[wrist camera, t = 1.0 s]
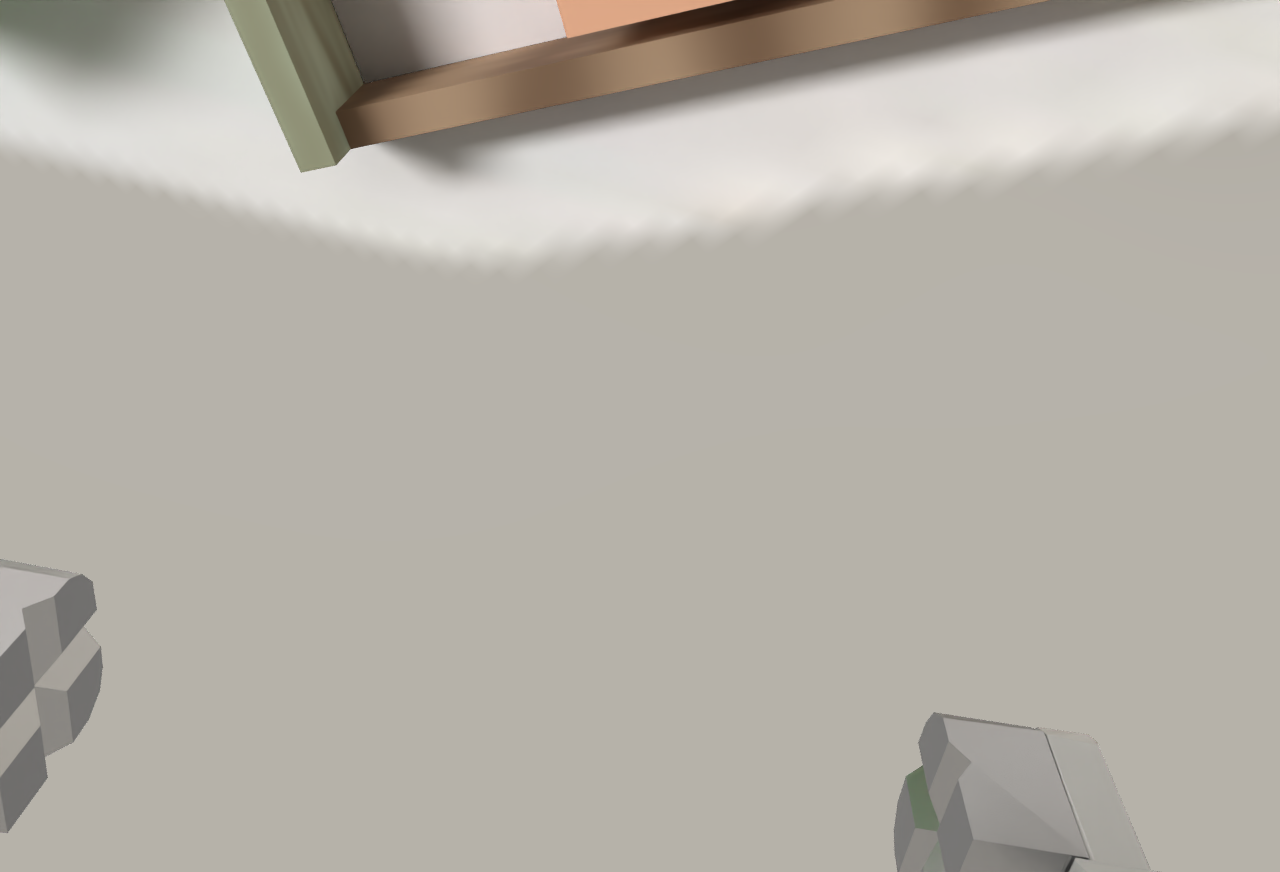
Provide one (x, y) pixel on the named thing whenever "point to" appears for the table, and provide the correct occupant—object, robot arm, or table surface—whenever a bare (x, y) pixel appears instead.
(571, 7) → the terracotta block
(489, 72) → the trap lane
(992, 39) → the table surface
